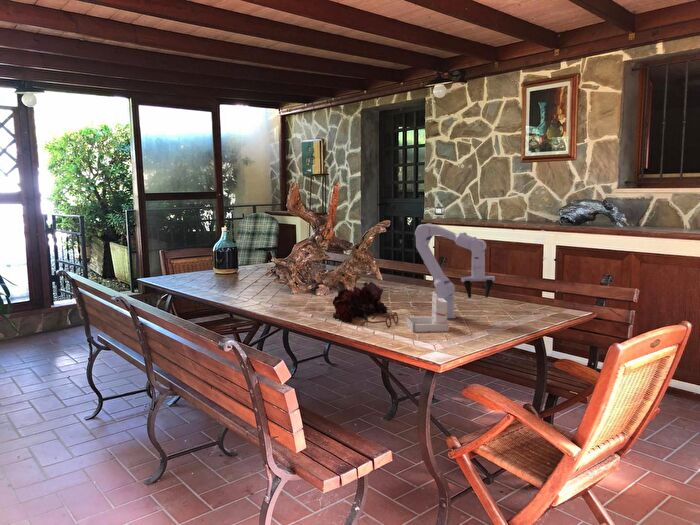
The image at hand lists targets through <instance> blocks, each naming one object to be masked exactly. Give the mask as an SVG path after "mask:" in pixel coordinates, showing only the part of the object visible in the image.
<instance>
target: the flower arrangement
mask: <svg viewBox="0 0 700 525" xmlns="http://www.w3.org/2000/svg"><path fill="white" fill-rule="evenodd" d="M362 285H363V287H361V289H360V288H359V287H356V286H353V289H352V290H350V289H346V288H340V289H339V290H337V296H334V299H333V300H332V302H331V303H332V305H333V307H334V309H335V313H334V312H333V314H332V319H333V318H335V319H334V320H336V319H339V320H338V321H340V320H344V321H345V323H347V322H350V323H352V321H353V319H357V318H356V317H362V318H363V319H364V318H365V319H364V320H365V321H369V320H368V318H369V317H367V316H370V314H371V315H375V314H374V313H376V314H382V313H383V314H387V312H388V307H387V306H385V302H382V301H381V300H382V295H383V292H384V290H383V288H380V287H379V286H378V285H377V284H376V283H374V282H373V281H369V283H368V281H366V282H364V283H363V284H362ZM378 312H379V313H378ZM381 312H382V313H381ZM352 318H353V319H352ZM344 321H343V322H344Z"/></svg>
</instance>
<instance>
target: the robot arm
mask: <svg viewBox="0 0 700 525" xmlns="http://www.w3.org/2000/svg"><path fill="white" fill-rule="evenodd" d="M414 236H415V248H416V250H417V252H418V253H419V255H420V257H421V259H422V261H423V263H424V264H425V266H426V268H427V270H428V272H429V274H430V275H431V277H432V279H433V286H434V287H435V293H436V294H437V298H443V299H444V300H445V301H447V319H456V318H457V317H456V316H455V315H454V307H455V306H454V304H455V303H454V302H455V299H454V298H455V297H454V293H455V292H456V285H455V284H454V282H452V281H451V280H450V278H449V277H447V276H446V274H445V273H444V272H443V270H442V267H441V266H440V264H439V262H438V260H437V259H436V257H435V254H434V253H433V251H432V249H431V248H430V246H429V245H430V242H431V239H432V238H433V237H434V236H440V237H442V238H445V239H449V240H451V241H454V243H455V245H457V246H459V247H461V248H464V249H467V250H469V251H471V272H470V273H471V275H470V276H461V278H460V281H461V282H462V283H463V285H464V287H465V290H466V294H467V298H469V299H471V298H472V282H483V283H484V298H489V295H490V294H489V293H490V290H491V289H492V286H493V285H494V282H495V281H496V277H495V276H494V275H486V274H485V273H486V255H485V254H486V252H485V251H486V249H487V242H486V241H485V240H483V239H482V238H477V237H476V236H471V235H469V234H467V232H459V233H455V232H453V231H451V230H449V229H447V228H444V227H442V226H440V225H437V224H433V223H430V222H428V223H425V224H419V225H418V226H417V227H416V229H415V231H414Z"/></svg>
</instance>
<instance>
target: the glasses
mask: <svg viewBox="0 0 700 525" xmlns="http://www.w3.org/2000/svg"><path fill="white" fill-rule="evenodd" d="M376 317H382V318H385V320H376V321H370V320H365V321H363V322H362V323H361V324H359V326H363V325H364V324H366V323H370V324H379V323H385V326H386V327H387V328H388V327H389V328H390V326H391V327H392V319H393V322H394V323H395V324H398V322H399V316H398V313H397V312H393V314H387V315H382V314H374V316H373V317H371V320H374V319H376ZM395 317H396V320H395ZM388 320H389V325H388Z"/></svg>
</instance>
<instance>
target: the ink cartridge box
mask: <svg viewBox="0 0 700 525" xmlns="http://www.w3.org/2000/svg"><path fill="white" fill-rule="evenodd" d="M431 316H432V324H444V323H448V318H447V301H445V300H444V299H443V298H438V295H437V294H436V292H434V291H432V298H431Z"/></svg>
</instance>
